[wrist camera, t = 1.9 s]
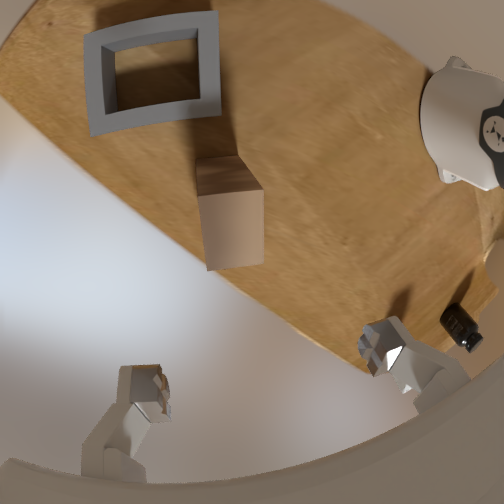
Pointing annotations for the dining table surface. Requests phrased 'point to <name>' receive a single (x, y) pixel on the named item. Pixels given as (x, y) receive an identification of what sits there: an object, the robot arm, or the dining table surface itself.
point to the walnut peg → (230, 213)
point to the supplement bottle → (461, 327)
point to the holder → (139, 34)
